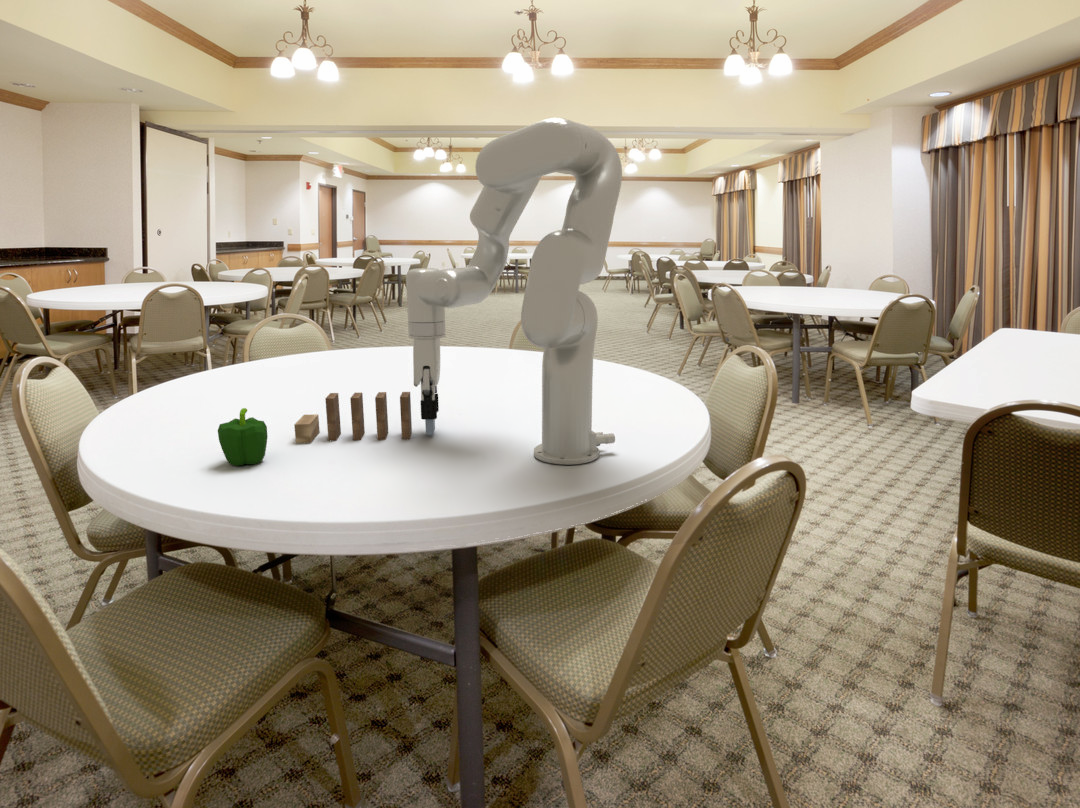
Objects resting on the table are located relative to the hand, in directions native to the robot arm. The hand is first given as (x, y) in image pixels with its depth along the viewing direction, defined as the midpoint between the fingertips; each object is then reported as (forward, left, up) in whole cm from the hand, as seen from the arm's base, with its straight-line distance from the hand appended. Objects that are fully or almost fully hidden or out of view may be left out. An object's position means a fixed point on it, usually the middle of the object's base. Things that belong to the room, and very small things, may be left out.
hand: (430, 414), depth 149 cm
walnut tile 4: (+19, -5, -5) cm, 21 cm away
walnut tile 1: (+5, -1, -5) cm, 7 cm away
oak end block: (+25, -7, -5) cm, 26 cm away
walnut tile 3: (+15, -4, -5) cm, 16 cm away
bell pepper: (+36, +7, -5) cm, 37 cm away
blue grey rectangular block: (0, 0, -4) cm, 4 cm away
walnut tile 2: (+10, -3, -5) cm, 11 cm away
